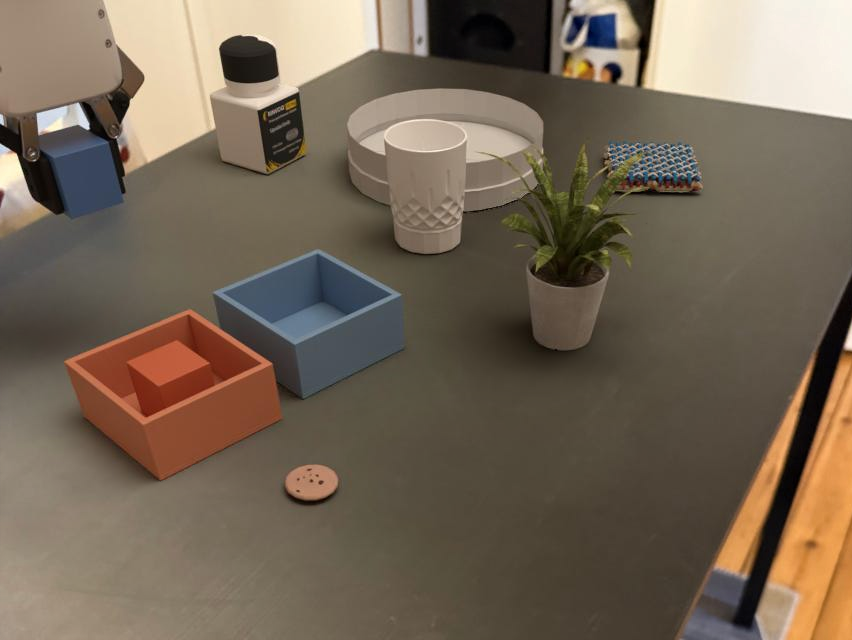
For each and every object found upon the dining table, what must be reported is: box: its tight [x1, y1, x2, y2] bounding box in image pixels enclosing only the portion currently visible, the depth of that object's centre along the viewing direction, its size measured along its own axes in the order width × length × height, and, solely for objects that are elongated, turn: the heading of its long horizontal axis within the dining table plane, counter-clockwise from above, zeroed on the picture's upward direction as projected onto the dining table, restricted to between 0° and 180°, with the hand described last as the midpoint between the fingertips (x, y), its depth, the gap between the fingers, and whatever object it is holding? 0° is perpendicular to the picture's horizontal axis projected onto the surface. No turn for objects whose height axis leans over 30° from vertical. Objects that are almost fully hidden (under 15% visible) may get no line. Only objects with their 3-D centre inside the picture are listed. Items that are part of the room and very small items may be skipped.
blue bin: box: [212, 248, 406, 400], centre depth 78 cm, size 11×11×5 cm
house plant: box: [474, 135, 650, 351], centre depth 76 cm, size 14×14×16 cm
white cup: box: [384, 119, 467, 255], centre depth 90 cm, size 8×8×10 cm
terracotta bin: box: [63, 308, 283, 481], centre depth 71 cm, size 11×11×5 cm
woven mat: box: [602, 140, 704, 192], centre depth 104 cm, size 10×11×2 cm
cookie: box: [284, 464, 339, 501], centre depth 67 cm, size 4×4×1 cm
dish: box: [346, 88, 544, 211], centre depth 103 cm, size 22×22×5 cm
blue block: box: [38, 124, 125, 220], centre depth 71 cm, size 4×4×4 cm
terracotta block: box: [126, 340, 215, 417], centre depth 71 cm, size 4×4×4 cm
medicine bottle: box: [209, 33, 307, 175], centre depth 102 cm, size 7×7×12 cm
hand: (82, 196), depth 72 cm, fingers closed on blue block, 4 cm apart
